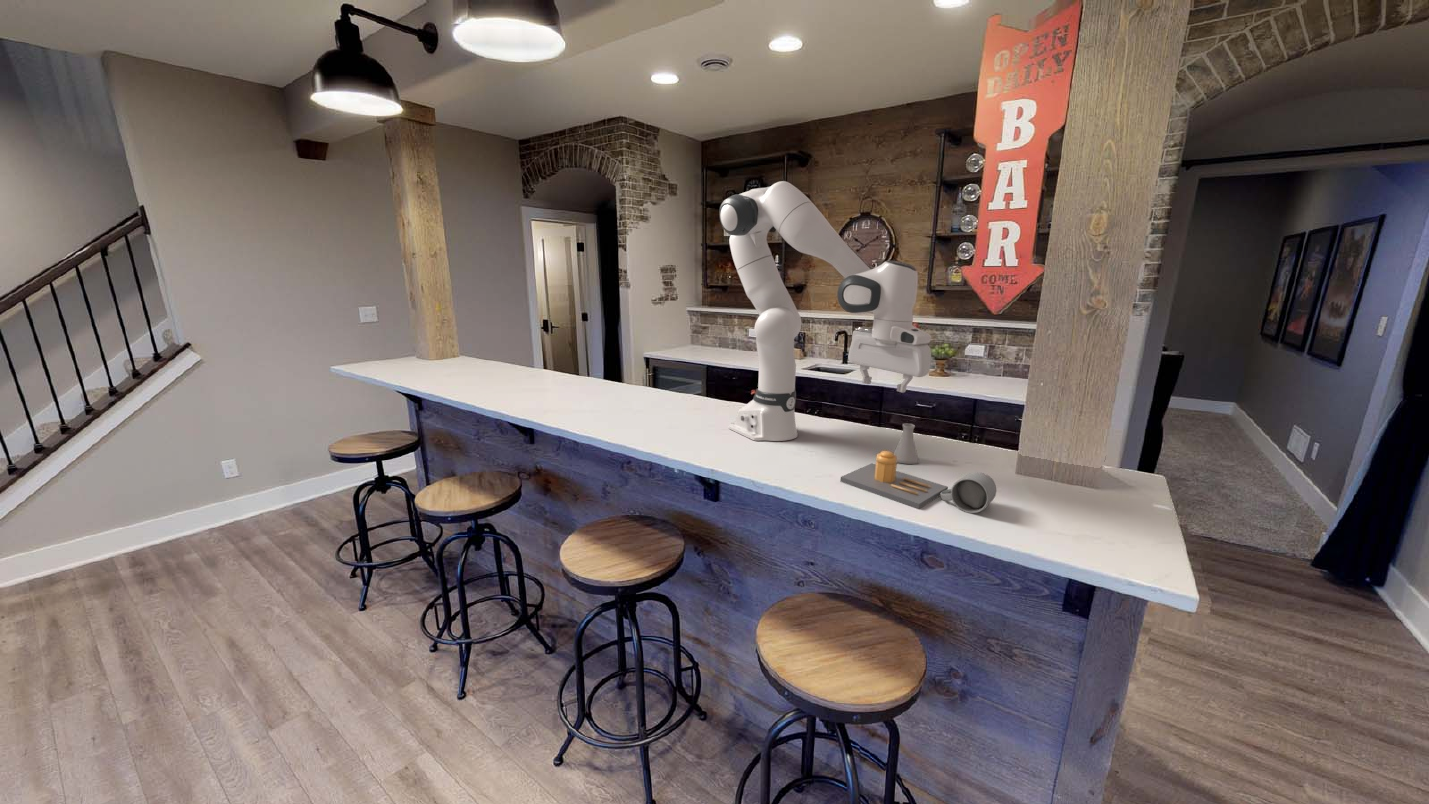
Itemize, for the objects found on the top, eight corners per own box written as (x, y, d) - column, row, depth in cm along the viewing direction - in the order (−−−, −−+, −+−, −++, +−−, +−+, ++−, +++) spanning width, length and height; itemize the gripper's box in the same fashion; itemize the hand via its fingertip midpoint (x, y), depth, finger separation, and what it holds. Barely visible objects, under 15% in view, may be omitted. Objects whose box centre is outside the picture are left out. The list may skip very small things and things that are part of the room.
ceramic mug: (996, 505, 117) (1000, 472, 116) (985, 518, 111) (990, 483, 110) (946, 493, 124) (950, 461, 122) (934, 504, 118) (937, 471, 116)
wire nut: (871, 478, 128) (873, 452, 127) (881, 473, 131) (883, 448, 130) (888, 484, 125) (891, 457, 123) (898, 479, 128) (901, 453, 126)
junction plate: (840, 481, 129) (841, 463, 128) (871, 467, 138) (872, 450, 137) (918, 508, 115) (921, 488, 114) (947, 491, 124) (949, 472, 123)
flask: (915, 456, 147) (918, 421, 145) (922, 465, 140) (926, 429, 138) (888, 455, 148) (891, 420, 146) (894, 464, 141) (898, 428, 139)
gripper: (846, 326, 132) (840, 380, 136) (925, 338, 118) (915, 398, 121) (860, 325, 136) (854, 377, 140) (938, 336, 122) (928, 395, 126)
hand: (883, 387), depth 131 cm, fingers open, 8 cm apart
